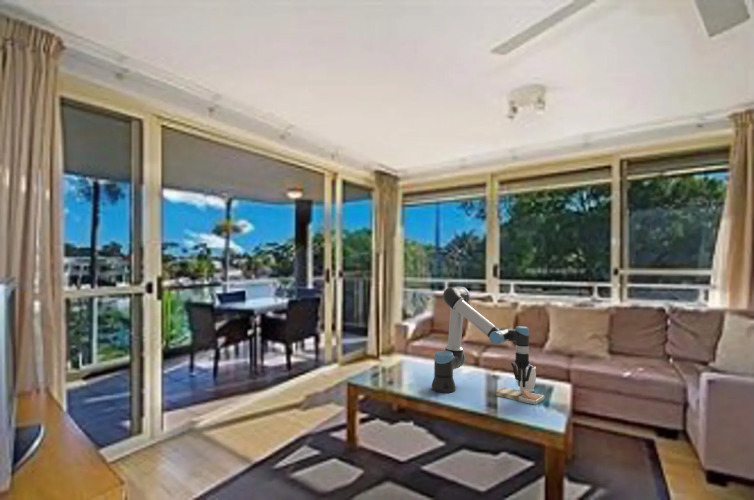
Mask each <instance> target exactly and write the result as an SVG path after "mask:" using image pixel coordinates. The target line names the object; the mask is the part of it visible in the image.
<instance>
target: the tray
mask: <svg viewBox="0 0 754 500" xmlns="http://www.w3.org/2000/svg"><path fill="white" fill-rule="evenodd" d="M529 393H530V394H531V395H534V396H539V397H540V398H538V399H537V400H531V399H526V398H525V397H524V395H521V396H519V397H518V400H517V402H520V403H525V404H530V405H536V406H537V405H539V404H540V403H541V402H543V401H544V400H545V399H546V396H545V395H544V394H538V393H535V392H529Z"/></svg>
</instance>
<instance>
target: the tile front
mask: <svg viewBox="0 0 754 500" xmlns="http://www.w3.org/2000/svg"><path fill="white" fill-rule="evenodd" d="M538 398H540V397H539V396H534V395H531V396H530V397H529V399H531V400H537V399H538Z"/></svg>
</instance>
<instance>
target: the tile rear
mask: <svg viewBox="0 0 754 500" xmlns="http://www.w3.org/2000/svg"><path fill="white" fill-rule="evenodd" d="M530 393H531V392H530ZM530 393H529V392H528V391H527V390H525V391H523V392H522V394H523V395H524V397H525V398H526V399H529V397H530V396H531V394H530Z"/></svg>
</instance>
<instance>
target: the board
mask: <svg viewBox="0 0 754 500" xmlns="http://www.w3.org/2000/svg"><path fill="white" fill-rule="evenodd" d="M521 395H523V394H522V393H520V389H519V390H518V389H515V388H511V387H504V386H503V387H502V388H499V389H497V390H496V391H495V397H501V398H506V399H510V400H514V401H518V397H519V396H521Z"/></svg>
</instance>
